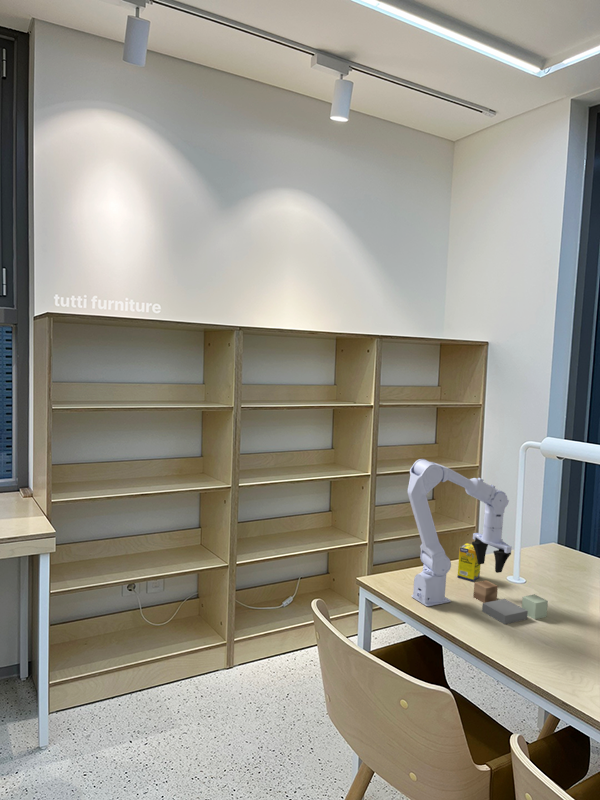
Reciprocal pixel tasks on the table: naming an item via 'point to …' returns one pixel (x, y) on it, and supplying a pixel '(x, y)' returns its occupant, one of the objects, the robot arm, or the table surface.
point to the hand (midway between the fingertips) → (489, 567)
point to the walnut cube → (485, 591)
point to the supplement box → (468, 563)
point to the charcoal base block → (504, 611)
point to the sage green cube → (535, 606)
